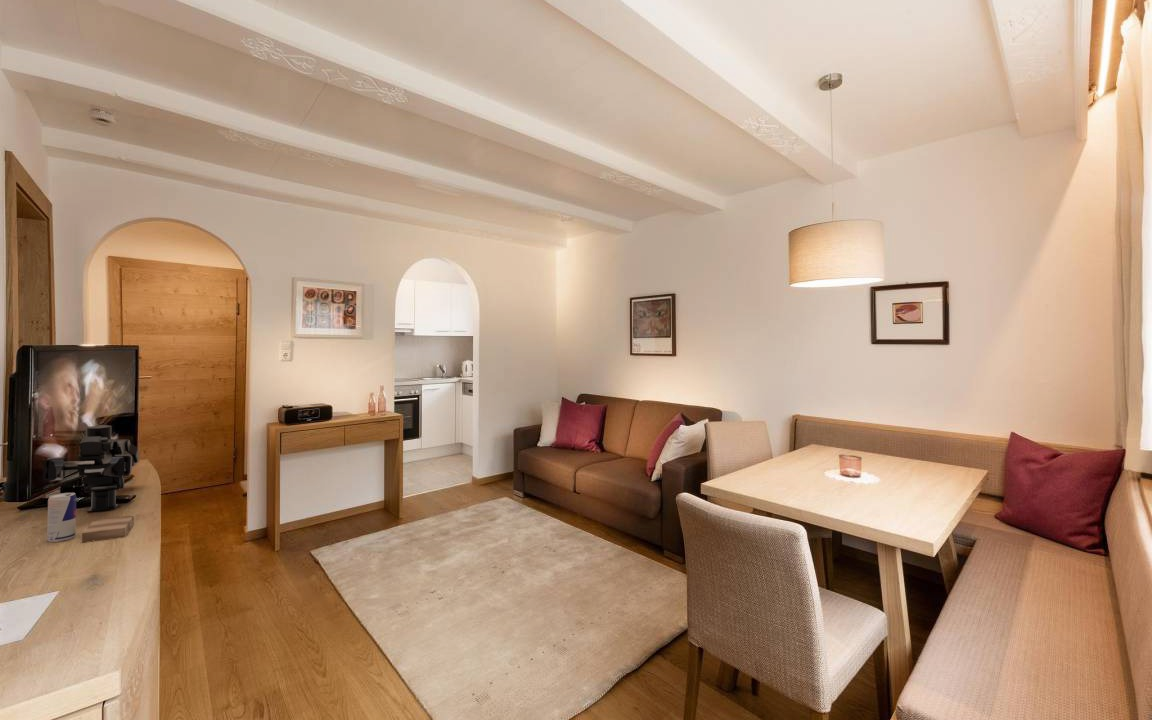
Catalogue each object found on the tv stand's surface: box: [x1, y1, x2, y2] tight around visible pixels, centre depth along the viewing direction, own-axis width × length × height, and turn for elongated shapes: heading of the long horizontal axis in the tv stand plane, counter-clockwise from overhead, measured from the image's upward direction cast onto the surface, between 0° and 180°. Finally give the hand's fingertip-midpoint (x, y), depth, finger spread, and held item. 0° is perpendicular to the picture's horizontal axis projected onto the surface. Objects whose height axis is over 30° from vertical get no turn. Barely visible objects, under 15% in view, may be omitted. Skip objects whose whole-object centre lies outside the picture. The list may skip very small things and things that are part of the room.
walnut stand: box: [81, 515, 135, 543], centre depth 139 cm, size 12×9×2 cm
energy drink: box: [46, 492, 77, 543], centre depth 134 cm, size 5×5×12 cm
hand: (80, 474), depth 139 cm, fingers open, 9 cm apart
